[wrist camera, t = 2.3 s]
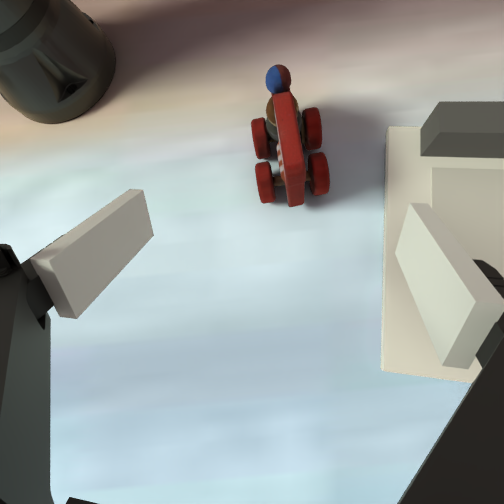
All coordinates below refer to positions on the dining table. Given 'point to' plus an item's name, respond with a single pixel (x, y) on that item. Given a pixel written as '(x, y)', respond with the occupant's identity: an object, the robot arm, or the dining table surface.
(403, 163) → the mat
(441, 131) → the grey rectangular block
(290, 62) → the dining table surface
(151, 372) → the dining table surface
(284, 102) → the red toy car
